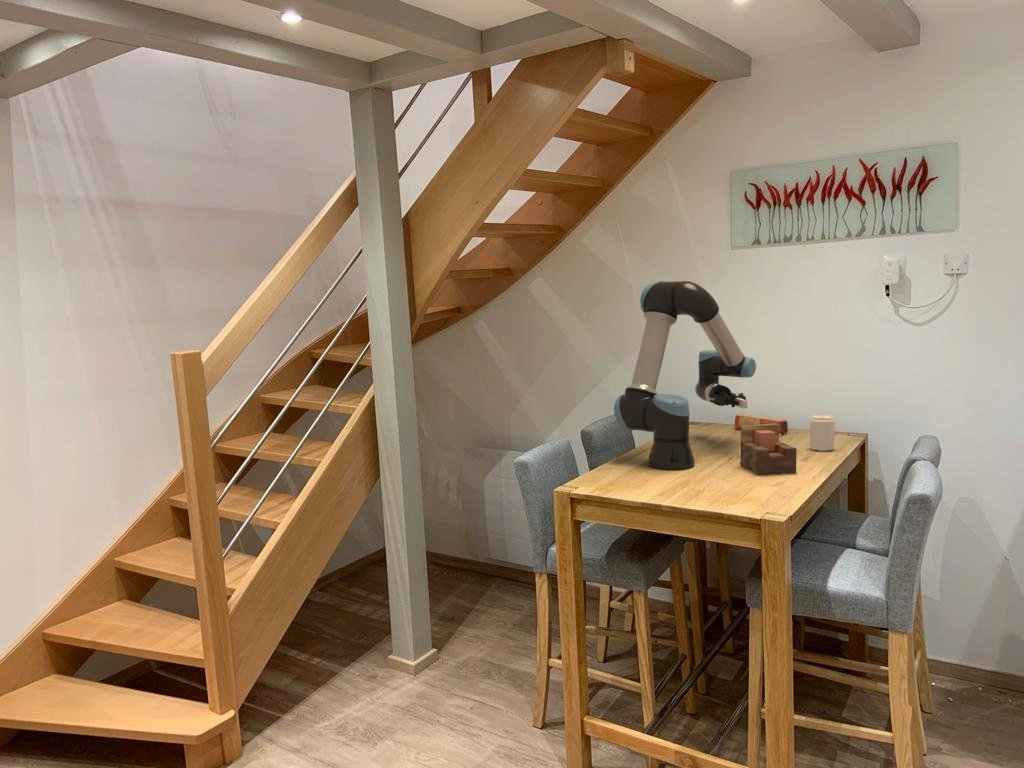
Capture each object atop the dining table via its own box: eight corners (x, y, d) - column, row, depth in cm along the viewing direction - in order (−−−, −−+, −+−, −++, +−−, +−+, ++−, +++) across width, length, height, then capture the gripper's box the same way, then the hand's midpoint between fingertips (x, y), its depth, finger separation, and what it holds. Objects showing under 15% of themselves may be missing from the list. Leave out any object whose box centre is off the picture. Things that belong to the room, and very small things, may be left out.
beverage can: (811, 451, 285) (811, 418, 283) (808, 447, 293) (809, 414, 291) (835, 452, 283) (836, 418, 281) (832, 447, 291) (832, 414, 289)
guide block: (740, 465, 267) (740, 425, 265) (775, 463, 268) (776, 423, 267) (758, 475, 253) (759, 433, 251) (796, 473, 255) (796, 431, 253)
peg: (742, 443, 273) (742, 425, 273) (756, 442, 274) (756, 425, 273) (760, 451, 260) (760, 433, 259) (775, 450, 260) (775, 432, 260)
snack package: (789, 434, 318) (789, 417, 318) (780, 436, 314) (780, 419, 313) (742, 427, 334) (742, 411, 334) (733, 430, 330) (733, 413, 329)
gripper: (735, 403, 302) (763, 414, 278) (701, 405, 300) (727, 416, 277) (735, 383, 301) (763, 392, 277) (701, 385, 299) (727, 394, 276)
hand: (745, 404), depth 277 cm, fingers closed
